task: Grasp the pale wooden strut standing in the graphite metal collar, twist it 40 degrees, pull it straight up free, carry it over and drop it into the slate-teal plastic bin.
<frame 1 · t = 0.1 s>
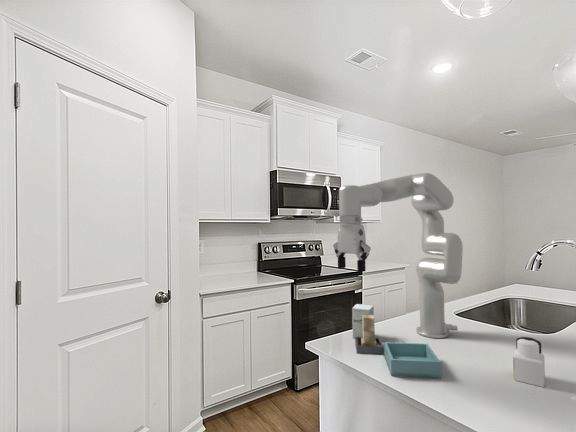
hand: (351, 269, 115), 31 cm above the counter, tool pointing down, fingers open, 9 cm apart
collar: (368, 348, 123), on the counter
supplement box: (363, 337, 135), on the counter
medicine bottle: (529, 380, 98), on the counter
bin: (410, 366, 108), on the counter
strut: (368, 332, 123), in the collar
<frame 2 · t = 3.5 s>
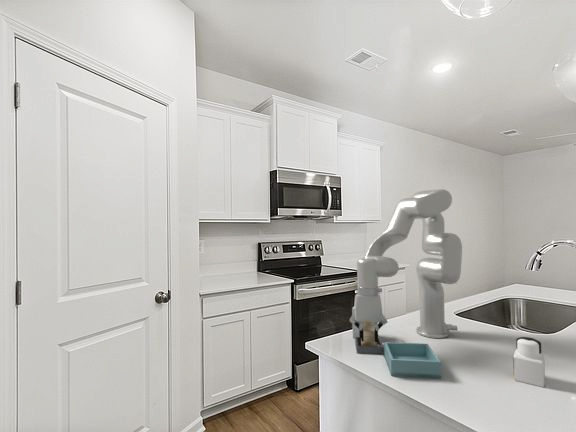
hand: (368, 339, 123), 3 cm above the counter, tool pointing down, fingers closed on strut, 4 cm apart
strut: (368, 332, 123), in the collar, touching gripper
everything else where it was.
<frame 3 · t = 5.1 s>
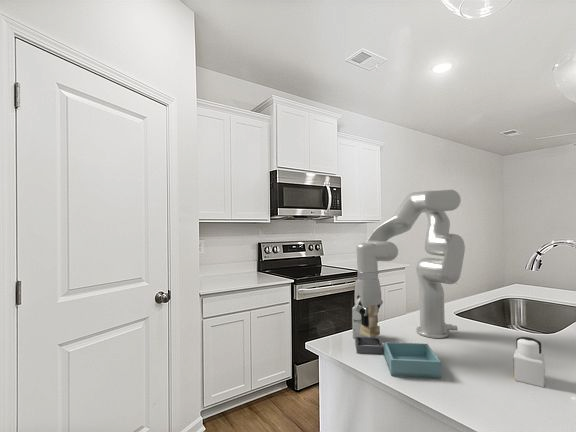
hand: (369, 323, 124), 9 cm above the counter, tool pointing down, fingers closed on strut, 4 cm apart
strut: (369, 317, 124), point 11 cm above the counter, touching gripper
everything else where it was.
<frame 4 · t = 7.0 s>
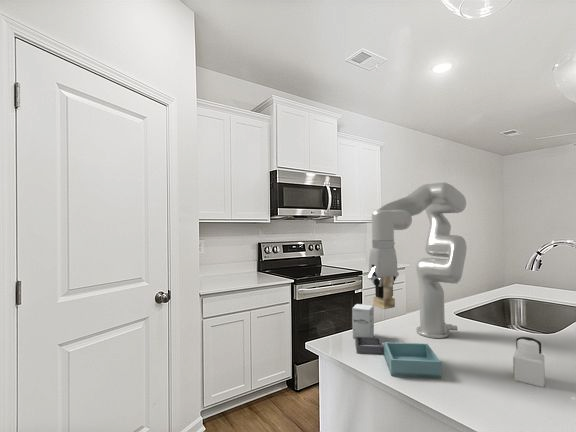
hand: (384, 295, 117), 21 cm above the counter, tool pointing down, fingers closed on strut, 4 cm apart
strut: (383, 289, 117), point 24 cm above the counter, touching gripper
everything else where it was.
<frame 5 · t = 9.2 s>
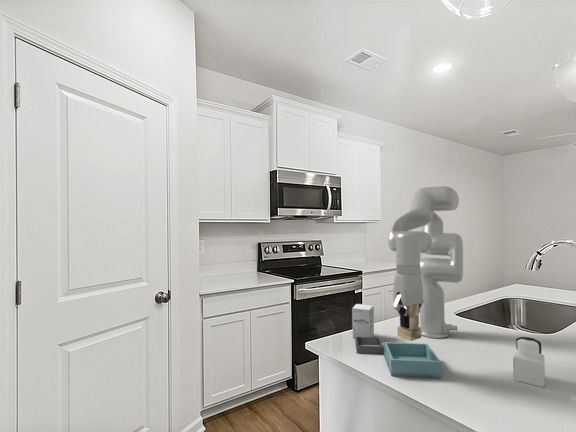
hand: (409, 325, 108), 14 cm above the counter, tool pointing down, fingers closed on strut, 4 cm apart
strut: (409, 318, 108), point 16 cm above the counter, touching gripper
everything else where it was.
when the fingers open (6 cm above the counter, at t = 10.8 s): strut drops 1 cm, resting on bin.
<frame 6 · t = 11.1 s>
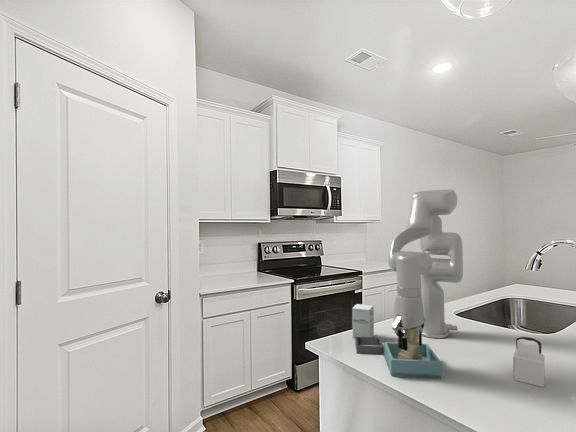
hand: (410, 346, 108), 7 cm above the counter, tool pointing down, fingers open, 6 cm apart
strut: (410, 344, 108), in the bin, point 7 cm above the counter
everything else where it was.
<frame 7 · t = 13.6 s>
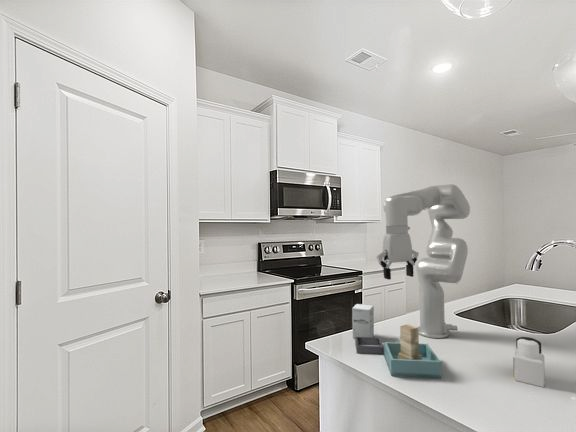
hand: (398, 277, 120), 27 cm above the counter, tool pointing down, fingers open, 9 cm apart
nothing on the counter moved.
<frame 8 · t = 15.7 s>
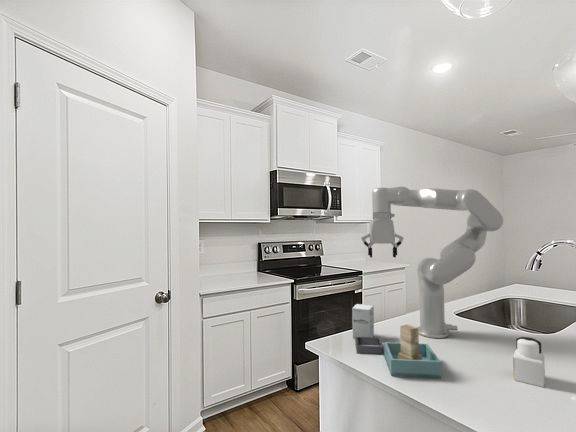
hand: (382, 257, 139), 32 cm above the counter, tool pointing down, fingers open, 9 cm apart
nothing on the counter moved.
at the end: strut inside the target area on the bin (0.2 cm from its centre), point 7.0 cm above the bin's base; the gripper is holding nothing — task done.
